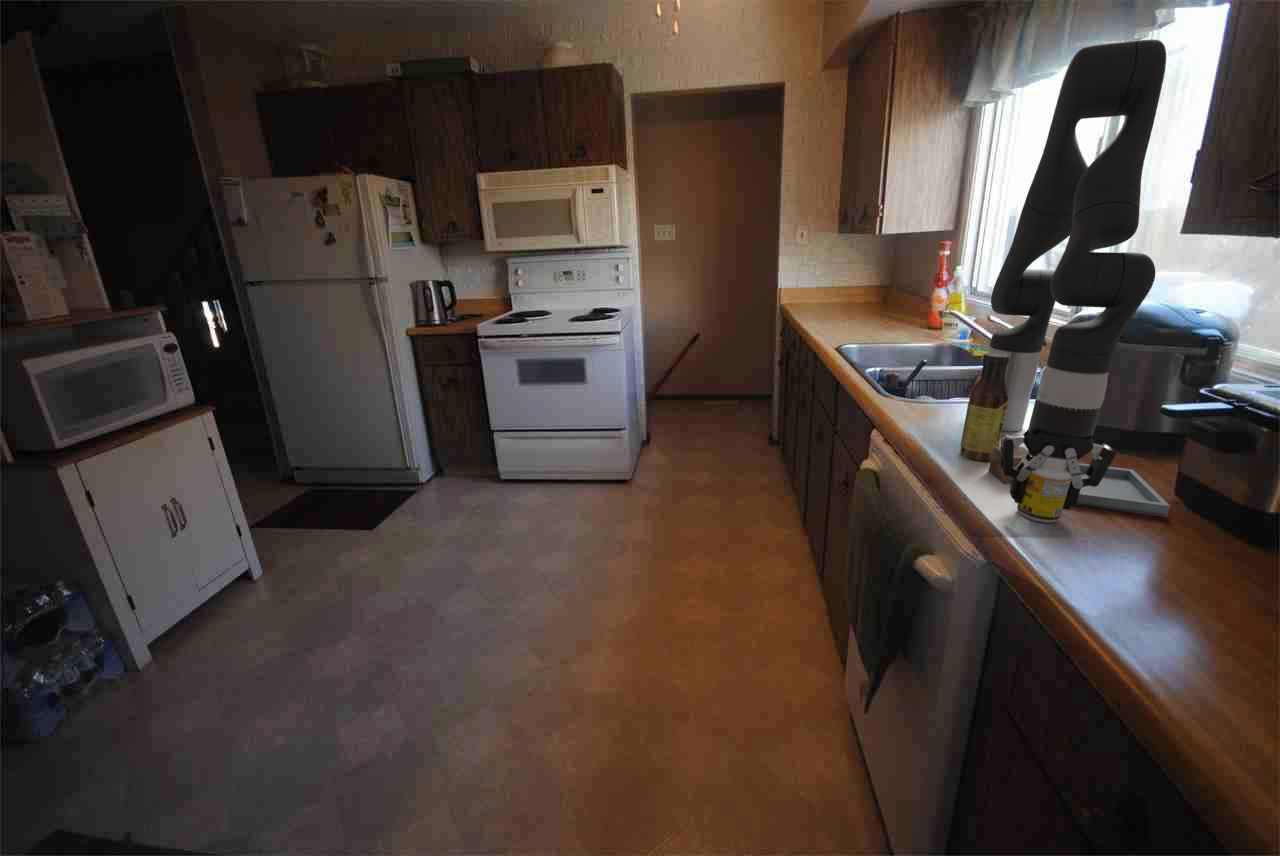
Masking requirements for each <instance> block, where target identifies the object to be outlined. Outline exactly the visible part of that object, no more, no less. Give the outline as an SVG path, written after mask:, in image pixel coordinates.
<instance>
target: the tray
mask: <svg viewBox="0 0 1280 856" xmlns="http://www.w3.org/2000/svg"><path fill="white" fill-rule="evenodd" d="M1078 464H1079V468H1080V472H1081V475H1084V474H1085V472H1086V471H1087V469H1088V467H1089V465H1090V464H1088V463H1079V462H1078ZM1075 506H1080V507H1086V508H1095V509H1099V510H1109V511H1116V512H1123V513H1129V514H1137V515H1144V516H1151V517H1158V518H1164V519H1165V518H1166V519H1167V516H1168V514H1169V511H1170V508H1171V505H1170V504H1169V503H1168V502H1167V501H1166V500H1165V499H1164V498H1163V497H1162V496H1161V495H1160V494H1159V493H1158V492H1157V491H1156V490H1155V489H1154V488H1153V487H1152V486H1151V485H1149V484H1148V483H1147V481H1145V480H1144V478H1142V477H1141V476H1140V475H1139V474H1138V473H1137V472H1136V471H1135V470H1134V469H1131V468H1122V467H1112V466H1109V467H1108V469H1107V471H1106V473H1105V474H1104V476H1103V478H1102V480H1101V482H1100V483H1099V485H1098V486H1096V487H1092V486H1085V487H1082V488H1081V490H1080V493H1079V496H1078V500H1077V503H1076V505H1075Z"/></svg>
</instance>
